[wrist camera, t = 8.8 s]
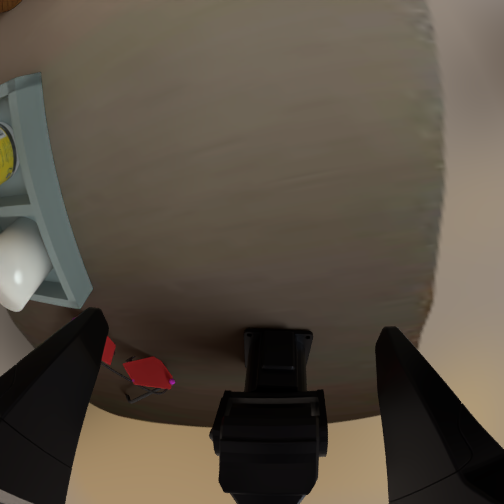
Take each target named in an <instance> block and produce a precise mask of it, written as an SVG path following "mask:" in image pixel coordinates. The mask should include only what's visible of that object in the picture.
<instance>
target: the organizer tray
mask: <svg viewBox="0 0 504 504" xmlns="http://www.w3.org/2000/svg"><path fill="white" fill-rule="evenodd" d="M0 122H4V123H6V124H8V125H9V126H10V127H11V128H12V129H13V133H14V139H15V144H16V149H17V154H18V158H19V166H18V169H17V171H16V172H15V174H14V175H13V176H12V177H11V178H9V179H8V180H7V181H5V182H4V183H2V184H1V185H0V234H1V233H2V232H3V231H4V230H5V229H6V228H7V227H8V226H9V225H10V224H11V223H13V222H14V221H15V220H16V219H18V218H20V217H26V218H29V219H31V220H33V221H35V222H36V223H37V225H38V228H39V231H40V234H41V236H42V239H43V242H44V244H45V247H46V250H47V252H48V255H49V257H50V260H51V262H52V265H53V267H54V268H53V269H52V271H51V272H50V273H49V274H48V276H47V277H46V278H45V279H44V281H43V282H42V283H41V285H40V286H39V287H38V288H37V290H36V291H35V292H34V294H33V295H32V296H31V298H30V299H29V300H34V301H39V302H44V303H49V304H54V305H59V306H64V307H70V308H75V309H81V307H82V305H83V304H84V302H85V301H86V299H87V297H88V296H89V294H90V293H91V291H92V290H93V287H92V285H91V282H90V280H89V277H88V275H87V272H86V269H85V267H84V264H83V261H82V258H81V256H80V253H79V250H78V247H77V244H76V241H75V238H74V235H73V232H72V229H71V226H70V222H69V219H68V216H67V212H66V209H65V205H64V202H63V198H62V194H61V190H60V186H59V182H58V178H57V174H56V170H55V165H54V161H53V156H52V151H51V146H50V140H49V135H48V129H47V122H46V116H45V108H44V100H43V91H42V81H41V72H39V73H34V74H29V75H25V76H21V77H17V78H14V79H12V80H10V81H8V82H6V83H4V84H2V85H0Z"/></svg>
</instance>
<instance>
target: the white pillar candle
mask: <svg viewBox="0 0 504 504" xmlns="http://www.w3.org/2000/svg"><path fill="white" fill-rule="evenodd" d="M53 268H54V267H53V265H52V262H51V260H50V257H49V255H48V252H47V250H46V247H45V244H44V242H43V239H42V236H41V234H40V231H39V228H38V225H37V223H36V222H35V221H33V220H31V219H29V218H26V217H20V218H18V219H16V220H15V221H14V222H13V223H11V224H10V225H9V226H8V227H7V228H6V229H5V230H4V231H3V232H2V233H1V234H0V304H1V305H3V306H4V307H6V308H7V309H9V310H12V311H15V312H18V311H21V310H22V309H23V307H24V306H25V305H26V303H27V302H28V301H29V299H30V298H31V296H32V295H33V294H34V292H35V291H36V290H37V288H38V287H39V286H40V285H41V283H42V282H43V281H44V279H45V278H46V277H47V276H48V274H49V273H50V272H51V271H52V269H53Z"/></svg>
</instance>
